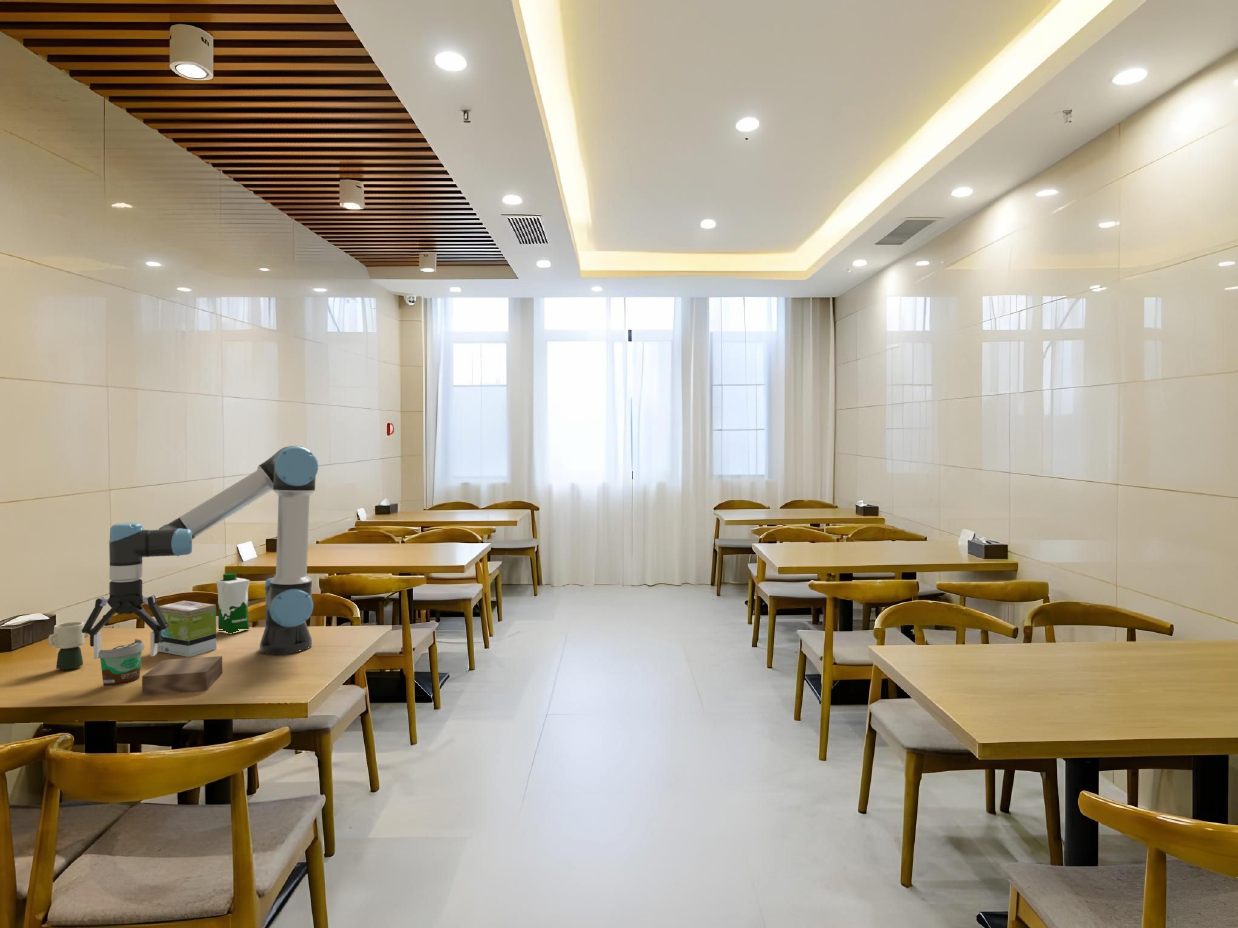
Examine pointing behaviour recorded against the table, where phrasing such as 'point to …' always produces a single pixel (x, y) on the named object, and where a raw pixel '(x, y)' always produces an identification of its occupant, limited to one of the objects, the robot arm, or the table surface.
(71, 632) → the character mug
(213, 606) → the tea box
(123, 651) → the food container
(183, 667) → the walnut plinth
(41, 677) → the table surface
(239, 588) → the milk carton
